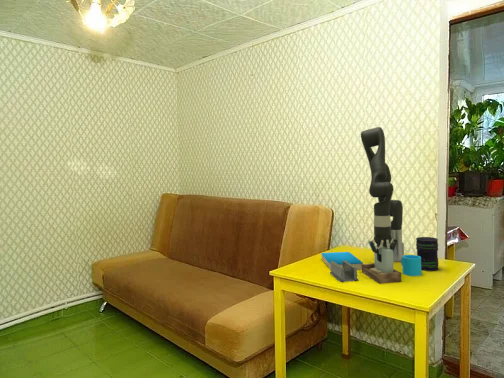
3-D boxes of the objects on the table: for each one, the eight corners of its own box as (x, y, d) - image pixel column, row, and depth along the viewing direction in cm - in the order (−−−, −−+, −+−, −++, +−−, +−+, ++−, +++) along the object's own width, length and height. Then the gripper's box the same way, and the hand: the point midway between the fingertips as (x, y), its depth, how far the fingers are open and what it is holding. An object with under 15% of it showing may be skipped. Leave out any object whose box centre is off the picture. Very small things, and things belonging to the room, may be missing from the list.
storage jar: (428, 265, 182) (428, 236, 182) (443, 269, 173) (442, 239, 172) (412, 267, 180) (411, 238, 179) (425, 272, 170) (425, 241, 170)
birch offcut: (374, 271, 170) (374, 267, 169) (382, 275, 163) (382, 271, 163) (369, 272, 169) (369, 268, 169) (377, 276, 162) (377, 272, 162)
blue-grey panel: (380, 269, 172) (379, 245, 172) (393, 276, 160) (392, 250, 160) (374, 269, 172) (374, 245, 171) (387, 277, 160) (386, 250, 159)
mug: (425, 275, 166) (424, 257, 165) (409, 276, 164) (409, 259, 164) (408, 268, 178) (408, 252, 177) (394, 270, 176) (394, 253, 176)
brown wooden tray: (381, 270, 176) (381, 262, 175) (401, 281, 158) (401, 272, 158) (361, 272, 174) (361, 264, 174) (379, 283, 156) (378, 274, 156)
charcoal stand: (346, 272, 175) (346, 260, 175) (358, 280, 162) (357, 267, 161) (330, 273, 174) (329, 261, 174) (340, 282, 161) (340, 269, 160)
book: (330, 264, 179) (320, 252, 204) (331, 272, 179) (320, 259, 204) (364, 262, 179) (349, 251, 204) (364, 270, 179) (350, 258, 204)
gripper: (392, 222, 170) (393, 258, 170) (364, 224, 168) (365, 260, 169) (400, 225, 162) (401, 262, 163) (371, 227, 160) (373, 264, 161)
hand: (383, 261), depth 166 cm, fingers closed on blue-grey panel, 3 cm apart
